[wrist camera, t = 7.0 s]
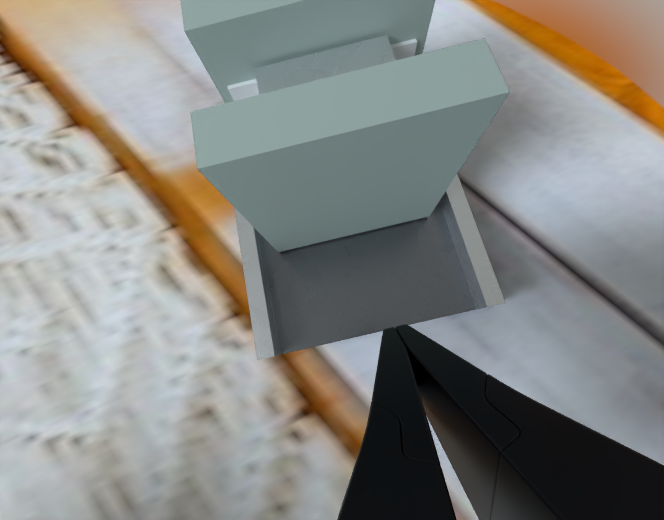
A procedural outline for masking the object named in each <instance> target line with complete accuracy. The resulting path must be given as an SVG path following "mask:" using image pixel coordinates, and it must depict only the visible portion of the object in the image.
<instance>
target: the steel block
mask: <svg viewBox="0 0 664 520" xmlns="http://www.w3.org/2000/svg"><path fill="white" fill-rule="evenodd" d="M392 61H396V59H395V56H394V54H393V51H392V48H391V45H390V42H389V39H388V37H387V35H385V36H381V37H377V38H373V39H369V40H365V41H361V42H357V43H353V44H349V45H345V46H341V47H337V48H333V49H329V50H325V51H321V52H317V53H313V54H309V55H305V56H301V57H297V58H293V59H290V60H286V61H282V62H278V63H274V64H270V65H266V66H262V67H258V68H254V71H255V76H256V81H257V86H258V91H259V95H260V94H264V93H268V92H272V91H276V90H280V89H284V88H288V87H292V86H296V85H300V84H304V83H308V82H312V81H316V80H320V79H324V78H328V77H332V76H336V75H340V74H344V73H348V72H352V71H356V70H360V69H364V68H368V67H372V66H376V65H380V64H384V63H388V62H392Z"/></svg>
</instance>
